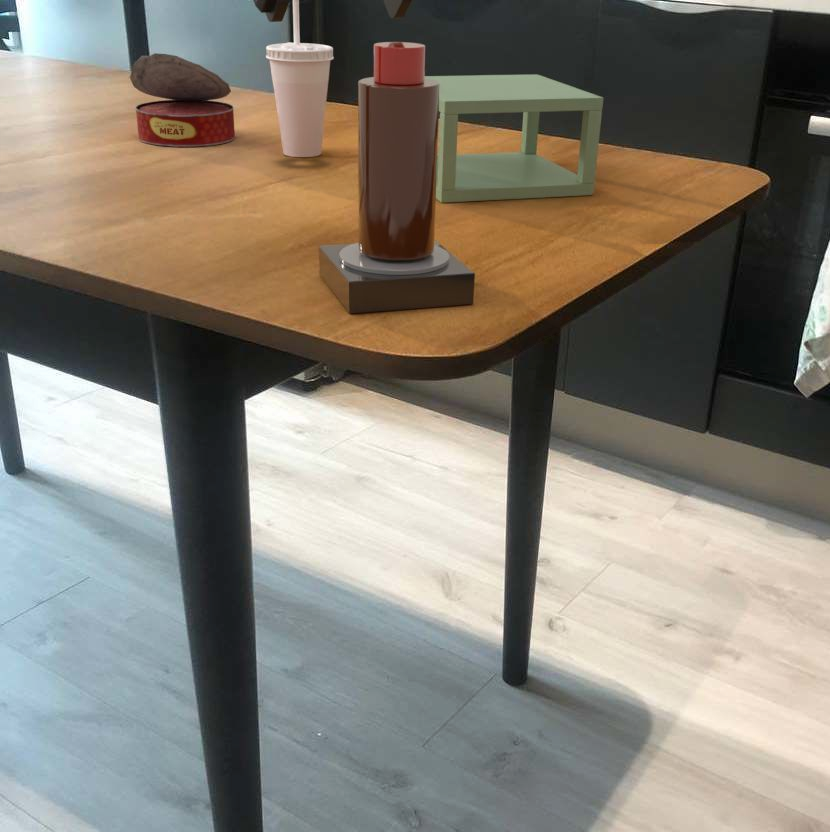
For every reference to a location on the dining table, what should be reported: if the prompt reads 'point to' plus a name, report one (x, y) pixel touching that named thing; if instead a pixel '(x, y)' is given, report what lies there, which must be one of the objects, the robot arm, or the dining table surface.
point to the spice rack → (521, 169)
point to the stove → (395, 280)
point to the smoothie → (300, 91)
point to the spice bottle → (397, 155)
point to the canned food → (181, 103)
